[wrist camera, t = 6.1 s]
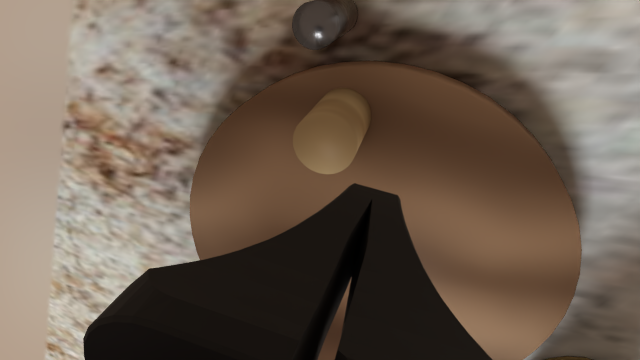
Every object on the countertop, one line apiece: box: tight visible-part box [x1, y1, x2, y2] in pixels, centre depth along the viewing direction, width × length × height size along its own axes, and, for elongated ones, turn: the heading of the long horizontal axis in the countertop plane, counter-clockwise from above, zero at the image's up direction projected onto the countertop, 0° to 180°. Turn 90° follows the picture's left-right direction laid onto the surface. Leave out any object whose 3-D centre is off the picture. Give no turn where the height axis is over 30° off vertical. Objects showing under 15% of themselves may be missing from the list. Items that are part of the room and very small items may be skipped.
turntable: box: [190, 61, 582, 360], centre depth 21 cm, size 20×20×5 cm
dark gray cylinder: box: [292, 0, 358, 50], centre depth 20 cm, size 17×14×4 cm
